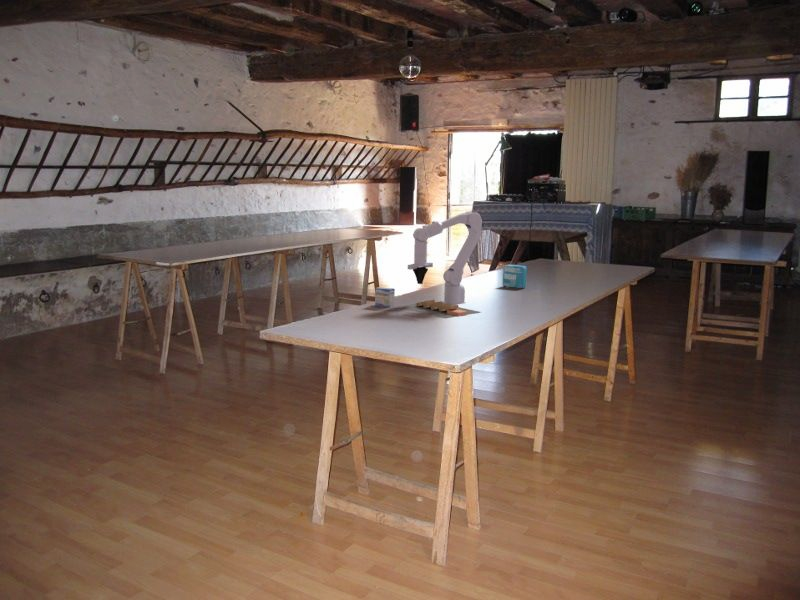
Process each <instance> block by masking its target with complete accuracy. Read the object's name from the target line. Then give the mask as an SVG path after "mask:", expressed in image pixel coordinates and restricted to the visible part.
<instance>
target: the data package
mask: <svg viewBox="0 0 800 600" xmlns="http://www.w3.org/2000/svg"><path fill="white" fill-rule="evenodd" d="M527 272H528V269H527V266H526V265H519V264H518V265H517V264H505V265H504V266H503V268H502V286H503V287H504V286H506V287H505V288H509V287H516V288H515V289H518V288H522V289H524V287H525V288H526V287H527V276H528V275H527V274H528V273H527Z"/></svg>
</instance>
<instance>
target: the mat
mask: <svg viewBox="0 0 800 600" xmlns="http://www.w3.org/2000/svg"><path fill="white" fill-rule="evenodd" d="M450 306H452V305H450ZM458 307H459V308H457V309H458V310H463V311H467V315H468V316H469V315H473V314H479V313H482V311H479V310H475V309H474V310H473V309H469V308H464V307H460V306H458ZM397 308H399V309H400V308H401V309H404V310H408V311H413V312H418V313H422V314H425V315H430V316H432V317H433V316H434V317H437V318H442V319H450V318H456V317H458V316H456V315H451V314H447V311H442V312H439V309H434V310H431V307H429V308H424V306H416V303H413V304H406V305H400V306H399V305H398V306H397ZM467 315H466V316H467Z"/></svg>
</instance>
